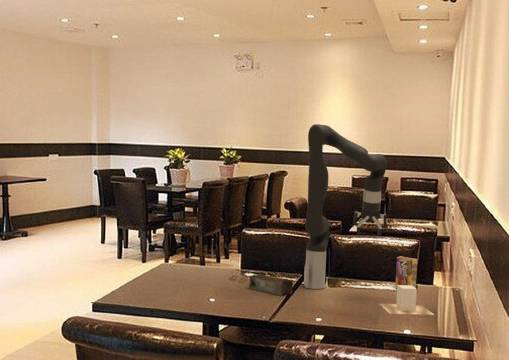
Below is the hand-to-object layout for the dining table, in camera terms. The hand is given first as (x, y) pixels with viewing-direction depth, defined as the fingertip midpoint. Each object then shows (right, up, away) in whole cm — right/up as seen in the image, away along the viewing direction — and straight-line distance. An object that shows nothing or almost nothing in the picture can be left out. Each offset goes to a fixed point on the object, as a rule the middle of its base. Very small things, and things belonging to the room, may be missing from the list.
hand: (368, 235), depth 256 cm
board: (+11, -28, -21) cm, 37 cm away
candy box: (+21, -27, +18) cm, 39 cm away
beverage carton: (-43, -25, +3) cm, 50 cm away
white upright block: (+11, -28, -21) cm, 36 cm away
